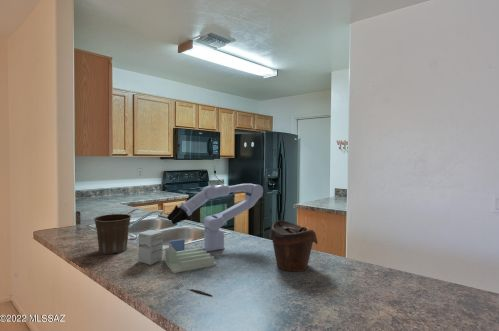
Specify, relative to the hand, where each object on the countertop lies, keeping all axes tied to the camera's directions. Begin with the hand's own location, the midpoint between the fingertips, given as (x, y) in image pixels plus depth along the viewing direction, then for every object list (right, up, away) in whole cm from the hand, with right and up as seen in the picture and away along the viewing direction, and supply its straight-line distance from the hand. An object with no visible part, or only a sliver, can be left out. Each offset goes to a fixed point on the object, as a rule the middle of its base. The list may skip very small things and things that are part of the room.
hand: (170, 220), depth 134 cm
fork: (+18, -17, -36) cm, 44 cm away
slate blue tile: (+2, -16, +3) cm, 16 cm away
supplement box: (-6, -16, -8) cm, 19 cm away
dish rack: (+11, -16, -10) cm, 22 cm away
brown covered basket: (+55, -17, -13) cm, 59 cm away
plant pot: (-29, -15, +5) cm, 33 cm away
